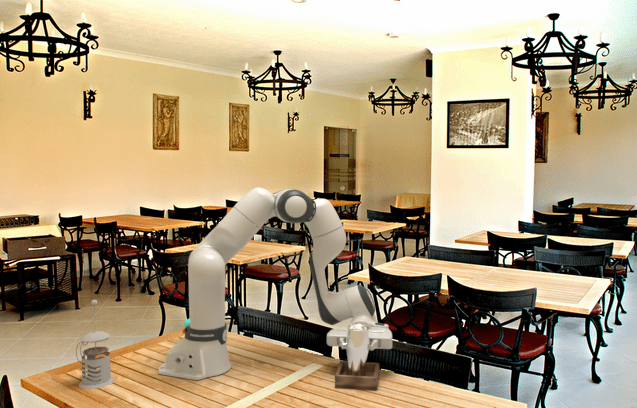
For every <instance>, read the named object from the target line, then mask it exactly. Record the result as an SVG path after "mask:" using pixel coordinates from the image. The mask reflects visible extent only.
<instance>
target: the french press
mask: <svg viewBox="0 0 637 408" xmlns="http://www.w3.org/2000/svg"><path fill="white" fill-rule="evenodd" d="M97 304H98V300H97V299H92V300H91V302H90V305H93V308H94V311H93V312H94V313H93V314H94V315H93V317H94V321H96V305H97ZM96 326H97V325H94V331H91V332H88V333H85V334H84V335H83V336H82V337H80V339H79V340H80V342H78V344H77V345H76V348H75V356H76V360H77V362H78V363H79V364H80V365H81V377H82V379H81V381H80V382H79V384H78V386H79V388H81V389H83V390H94V389H101V388H104V387H106V386H107V387H108V386H110V385H111V384H113V383H114V382H115V378H114V377H113V376H112V375H111V373H112V372H111V353H110V352H109V350H110V348H109V347H108V346H97V343H100V342H103V341H106V340H109V338H110V337H111V334H109V333H107V332H105V331H102V330H101V331H100V330H96ZM84 343H85V344H84ZM88 343H89V344H93V343H94V346H93V347H88V348H86V349H84V350H83V351H82V346H84V347H85V346H87V345H88ZM79 345H80V347H79ZM78 347H79V354H80V356H81V362H80V360H79V358H78ZM82 354H83V355H82ZM101 355H104V356H101Z"/></svg>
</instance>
